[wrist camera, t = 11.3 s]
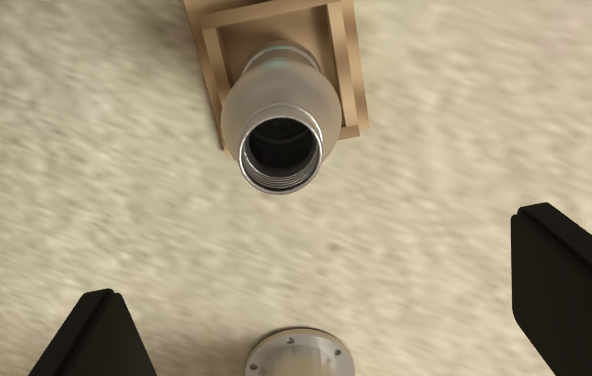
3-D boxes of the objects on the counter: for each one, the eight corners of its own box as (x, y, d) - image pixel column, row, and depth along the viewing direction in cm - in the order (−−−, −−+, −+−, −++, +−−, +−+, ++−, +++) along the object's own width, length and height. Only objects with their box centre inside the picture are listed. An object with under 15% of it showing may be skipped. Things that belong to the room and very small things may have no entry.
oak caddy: (367, 124, 40) (375, 135, 37) (227, 151, 41) (222, 165, 37) (334, -122, 33) (340, -136, 29) (163, -84, 33) (150, -94, 30)
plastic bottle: (224, 81, 37) (168, 161, 19) (280, 18, 35) (278, 40, 17) (280, 132, 39) (280, 252, 21) (336, 75, 37) (390, 151, 19)
